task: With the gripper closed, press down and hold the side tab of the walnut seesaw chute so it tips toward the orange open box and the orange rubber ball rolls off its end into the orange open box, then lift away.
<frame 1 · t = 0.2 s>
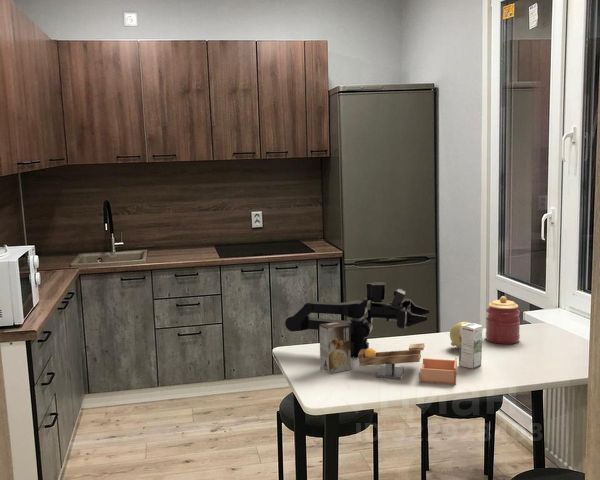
hand: (428, 315, 228), 17 cm above the table, tool horizontal, fingers open, 9 cm apart
coffee box: (335, 369, 222), on the table
lever stand: (390, 374, 216), on the table
ball: (370, 354, 217), point 7 cm above the table, tilted 14°, touching lever
orange open box: (438, 377, 212), on the table
canister: (502, 340, 254), on the table
lever: (392, 350, 221), point 7 cm above the table, hinge at -8.0°, touching ball
yellow rounded lump: (465, 349, 244), on the table
syrup box: (470, 366, 224), on the table
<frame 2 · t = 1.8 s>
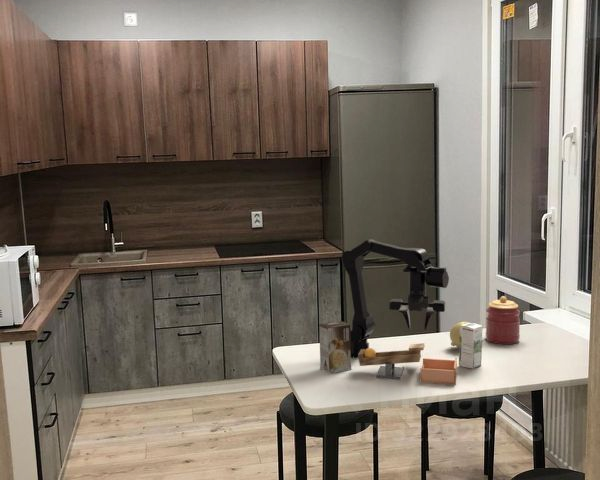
hand: (417, 329, 223), 13 cm above the table, tool pointing down, fingers open, 5 cm apart
nothing on the table moved.
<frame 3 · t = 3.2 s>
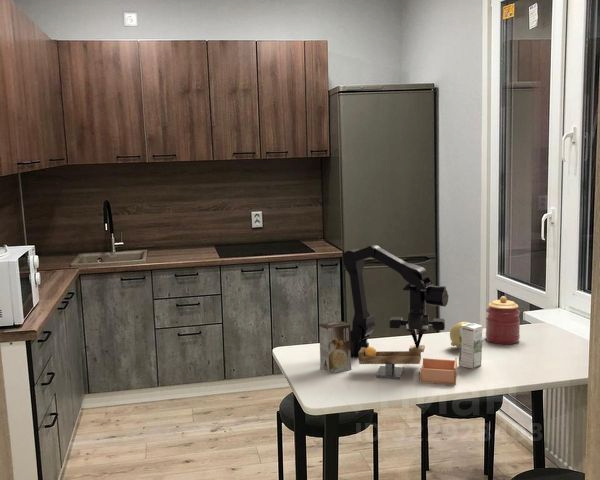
hand: (417, 347, 224), 7 cm above the table, tool pointing down, fingers closed, pressing on lever
lever: (392, 350, 221), point 7 cm above the table, hinge at -4.1°, touching ball, gripper
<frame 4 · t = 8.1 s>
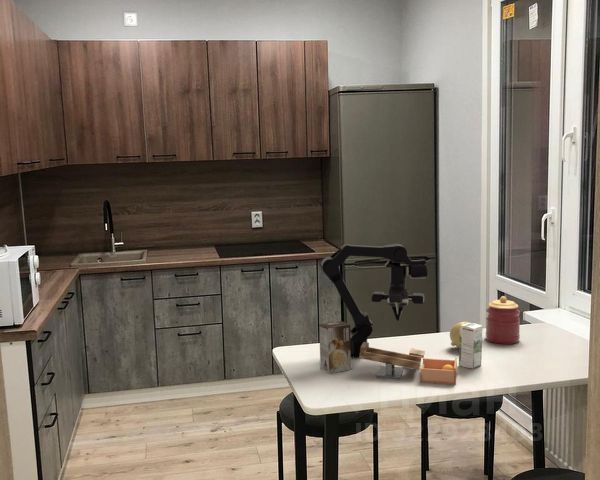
hand: (397, 320, 236), 13 cm above the table, tool pointing down, fingers closed
ball: (448, 370, 211), point 3 cm above the table, tilted 29°, touching orange open box
lever: (393, 351, 220), point 6 cm above the table, hinge at 7.6°
everything else where it was.
at the end: ball inside the target area on the orange open box (3.0 cm from its centre), point 2.6 cm above the orange open box's base; ball moved 25.7 cm from its start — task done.
